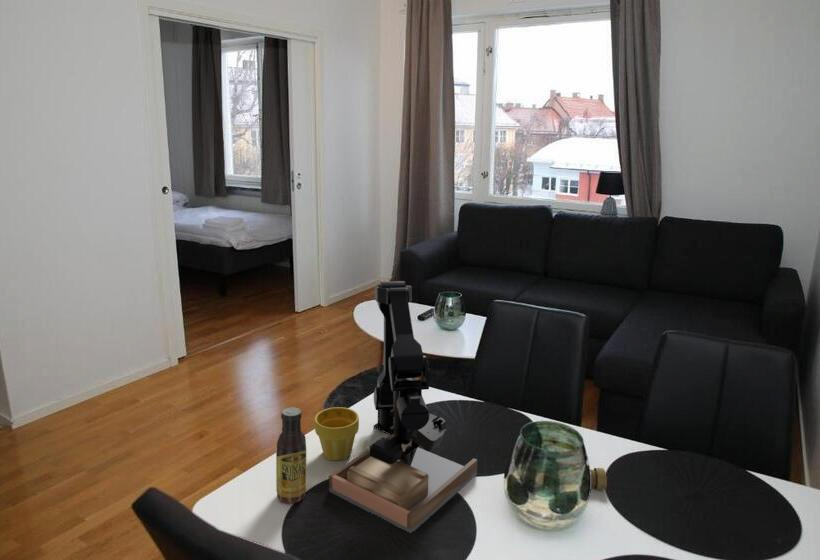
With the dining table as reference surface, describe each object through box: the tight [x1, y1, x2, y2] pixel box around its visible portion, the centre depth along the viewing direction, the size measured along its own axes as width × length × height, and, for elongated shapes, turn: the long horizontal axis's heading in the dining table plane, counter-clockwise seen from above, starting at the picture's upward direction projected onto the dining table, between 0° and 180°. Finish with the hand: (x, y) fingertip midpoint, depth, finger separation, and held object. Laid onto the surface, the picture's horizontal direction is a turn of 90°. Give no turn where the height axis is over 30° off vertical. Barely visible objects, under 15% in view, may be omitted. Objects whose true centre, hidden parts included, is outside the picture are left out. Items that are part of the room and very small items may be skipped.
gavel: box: [589, 467, 608, 491], centre depth 139 cm, size 21×5×10 cm
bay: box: [328, 434, 478, 534], centre depth 131 cm, size 22×25×4 cm
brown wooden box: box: [347, 456, 429, 510], centre depth 125 cm, size 14×10×5 cm
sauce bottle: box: [275, 406, 307, 505], centre depth 123 cm, size 6×6×20 cm
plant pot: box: [314, 406, 360, 462], centre depth 141 cm, size 10×10×10 cm
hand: (406, 470), depth 131 cm, fingers closed
